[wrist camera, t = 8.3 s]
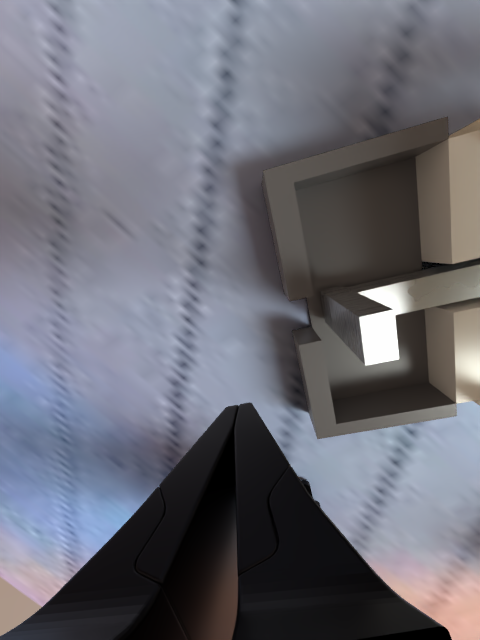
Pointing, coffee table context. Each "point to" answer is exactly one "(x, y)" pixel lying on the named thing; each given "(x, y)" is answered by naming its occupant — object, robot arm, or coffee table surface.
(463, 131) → the track
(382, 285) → the slider
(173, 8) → the coffee table surface
